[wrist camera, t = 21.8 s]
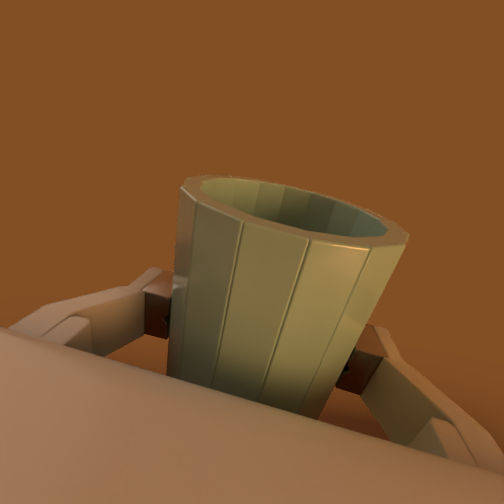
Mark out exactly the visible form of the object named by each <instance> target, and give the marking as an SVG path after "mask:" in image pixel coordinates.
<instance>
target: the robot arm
mask: <svg viewBox="0 0 504 504" xmlns="http://www.w3.org/2000/svg"><path fill="white" fill-rule="evenodd" d="M173 274H174V272H171V271H167V270H163V269H159V268H156V267H151V268H149V269H148V270H147V271H146V272H144V273H143V274H142V275H141V276H140V277H138V278H137V279H136V280H135V281H133V282H132V283H131V284H130V285H128V286H127V287H125V286H120V287H116V288H112V289H108V290H104V291H100V292H96V293H92V294H88V295H84V296H80V297H76V298H72V299H68V300H64V301H59V302H55V303H51V304H48V305H44V306H43V307H41V308H39V309H38V310H36V311H35V312H33V313H31V314H30V315H28V316H26V317H25V318H23V319H22V320H20V321H18V322H17V323H15V324H14V325H12V326H10V327H9V328H3V327H0V504H504V454H503V452H502V451H501V449H500V448H499V446H498V445H497V444H496V442H495V441H494V439H493V438H492V436H491V435H490V433H489V432H488V431H487V430H485V429H484V428H483V427H482V426H481V425H479V424H478V423H477V422H476V421H475V420H474V419H473V418H472V417H470V416H469V415H468V414H467V413H466V412H465V411H463V410H462V409H461V408H460V407H459V406H458V405H456V404H455V403H454V402H453V401H452V400H451V399H449V398H448V397H447V396H446V395H445V394H444V393H442V392H441V391H440V390H439V389H438V388H437V387H435V386H434V385H433V384H432V383H431V382H430V381H428V380H427V379H426V378H425V377H424V376H423V375H421V374H420V373H419V372H418V371H417V370H416V369H414V368H413V367H412V366H411V365H410V364H407V363H405V362H404V361H403V359H402V357H401V355H400V353H399V351H398V349H397V347H396V345H395V344H394V342H393V340H392V338H391V336H390V334H389V332H388V330H387V329H385V328H383V327H378V326H374V325H369V324H366V325H365V327H364V329H363V331H362V333H361V335H360V337H359V339H358V341H357V343H356V345H355V347H354V349H353V351H352V353H351V355H350V357H349V359H348V361H347V363H346V364H345V366H344V368H343V370H342V372H341V374H340V376H339V378H338V380H337V382H336V384H335V386H336V388H339V389H342V390H345V391H348V392H352V393H355V394H358V395H361V396H360V397H361V398H362V400H363V401H364V403H365V404H366V406H367V407H368V408H369V410H370V411H371V413H372V414H373V415H374V417H375V418H376V420H377V421H378V423H379V424H380V426H381V427H382V428H383V430H384V431H385V433H386V434H387V436H388V437H389V439H390V440H391V442H389V441H386V440H382V439H379V438H375V437H372V436H369V435H365V434H362V433H359V432H355V431H352V430H349V429H345V428H342V427H338V426H335V425H332V424H328V423H325V422H322V421H318V420H315V419H312V418H308V417H305V416H301V415H298V414H295V413H291V412H288V411H285V410H281V409H278V408H274V407H271V406H268V405H264V404H261V403H257V402H254V401H251V400H247V399H244V398H240V397H237V396H234V395H230V394H227V393H223V392H220V391H217V390H213V389H210V388H207V387H203V386H200V385H196V384H193V383H190V382H186V381H183V380H179V379H176V378H173V377H169V376H166V375H162V374H159V373H156V372H152V371H149V370H145V369H142V368H139V367H135V366H132V365H128V364H125V363H121V362H118V361H115V360H111V359H108V358H105V357H104V356H106V355H108V354H110V353H112V352H114V351H115V350H117V349H119V348H121V347H123V346H124V345H127V344H128V343H130V342H132V341H134V340H136V339H138V338H139V337H141V336H143V335H144V334H147V335H151V336H155V337H159V338H163V339H167V338H168V337H169V330H170V316H171V302H172V288H173Z"/></svg>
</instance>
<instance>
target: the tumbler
mask: <svg viewBox="0 0 504 504" xmlns="http://www.w3.org/2000/svg"><path fill="white" fill-rule="evenodd" d="M409 238H410V236H409V234H408V233H407V232H406V231H405V230H403V229H402V228H401V227H400V226H399V225H398V224H396V223H395V222H393V221H391V220H389V219H387V218H385V217H383V216H381V215H379V214H377V213H375V212H373V211H371V210H369V209H366V208H363V207H361V206H358V205H356V204H353V203H350V202H348V201H345V200H342V199H338V198H335V197H332V196H329V195H325V194H322V193H318V192H314V191H312V190H307V189H303V188H299V187H295V186H291V185H287V184H282V183H277V182H271V181H266V180H261V179H254V178H246V177H238V176H229V175H201V176H195V177H189V178H186V179H185V180H184V182H183V183H182V185H181V186H180V190H179V204H178V219H177V232H176V246H175V261H174V274H173V288H172V302H171V316H170V330H169V344H168V358H167V372H166V376H169V377H173V378H176V379H179V380H183V381H186V382H190V383H193V384H196V385H200V386H203V387H207V388H210V389H213V390H217V391H220V392H223V393H227V394H230V395H234V396H237V397H240V398H244V399H247V400H251V401H254V402H257V403H261V404H264V405H268V406H271V407H274V408H278V409H281V410H285V411H288V412H291V413H295V414H298V415H301V416H305V417H308V418H312V419H315V420H317V419H318V417H319V415H320V413H321V412H322V409H323V408H324V405H325V404H326V402H327V400H328V398H329V396H330V394H331V392H332V390H333V388H334V385H335V384H336V382H337V380H338V378H339V376H340V374H341V372H342V370H343V368H344V366H345V364H346V363H347V361H348V359H349V357H350V355H351V353H352V351H353V349H354V347H355V345H356V343H357V341H358V339H359V337H360V335H361V333H362V331H363V329H364V327H365V325H366V323H367V321H368V319H369V317H370V315H371V313H372V311H373V309H374V308H375V305H376V304H377V302H378V300H379V298H380V296H381V293H382V292H383V290H384V288H385V286H386V284H387V282H388V280H389V278H390V276H391V274H392V272H393V270H394V268H395V266H396V264H397V263H398V261H399V259H400V257H401V255H402V253H403V250H404V249H405V247H406V245H407V242H408V240H409Z"/></svg>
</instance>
